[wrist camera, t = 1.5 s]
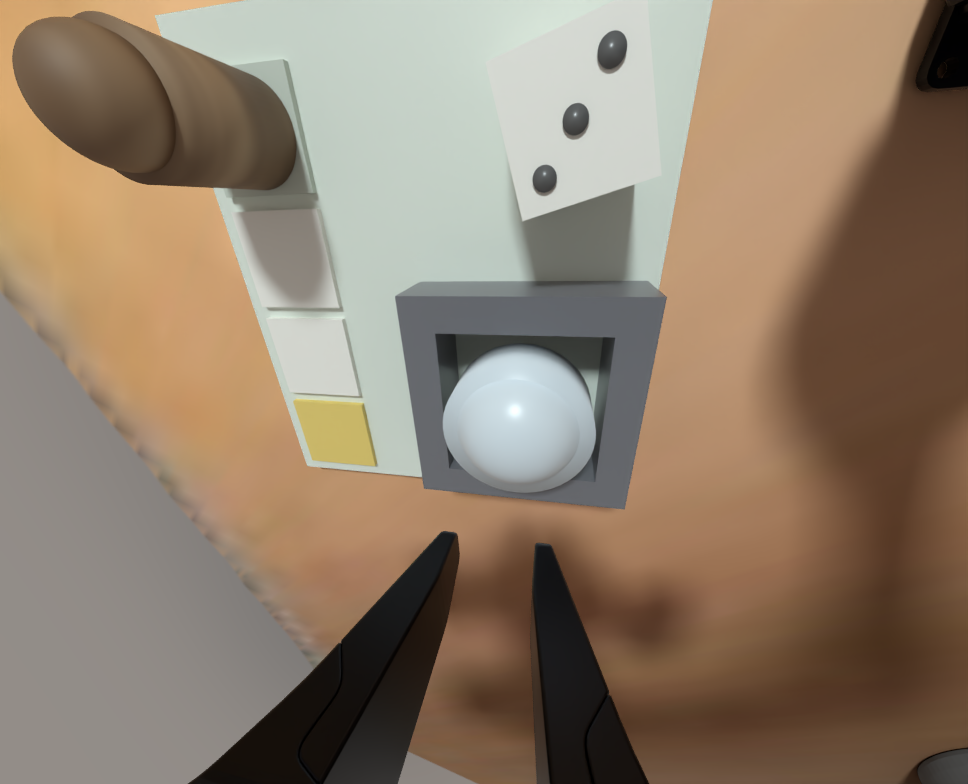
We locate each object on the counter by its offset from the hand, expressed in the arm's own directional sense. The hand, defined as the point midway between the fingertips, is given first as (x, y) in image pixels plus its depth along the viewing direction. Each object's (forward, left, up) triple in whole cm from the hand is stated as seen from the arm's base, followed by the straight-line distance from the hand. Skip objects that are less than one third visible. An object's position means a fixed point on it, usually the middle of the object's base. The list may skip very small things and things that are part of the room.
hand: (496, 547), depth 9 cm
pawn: (+12, -11, -10) cm, 19 cm away
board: (+5, -4, -11) cm, 13 cm away
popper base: (0, 0, -10) cm, 10 cm away
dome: (0, 0, -9) cm, 9 cm away
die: (-1, -10, -10) cm, 14 cm away
